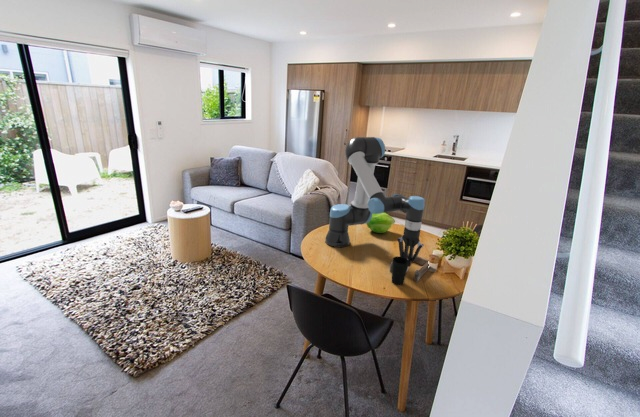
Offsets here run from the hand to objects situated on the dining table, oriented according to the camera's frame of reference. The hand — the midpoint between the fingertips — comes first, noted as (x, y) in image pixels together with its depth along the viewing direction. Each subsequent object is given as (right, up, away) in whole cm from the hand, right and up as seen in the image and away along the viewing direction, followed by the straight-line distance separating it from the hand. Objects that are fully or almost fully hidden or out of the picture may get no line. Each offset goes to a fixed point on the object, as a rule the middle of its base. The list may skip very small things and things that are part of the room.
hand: (405, 271), depth 157 cm
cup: (-6, -4, -7) cm, 10 cm away
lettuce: (-3, +16, +55) cm, 57 cm away
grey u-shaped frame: (+4, 0, +6) cm, 7 cm away
